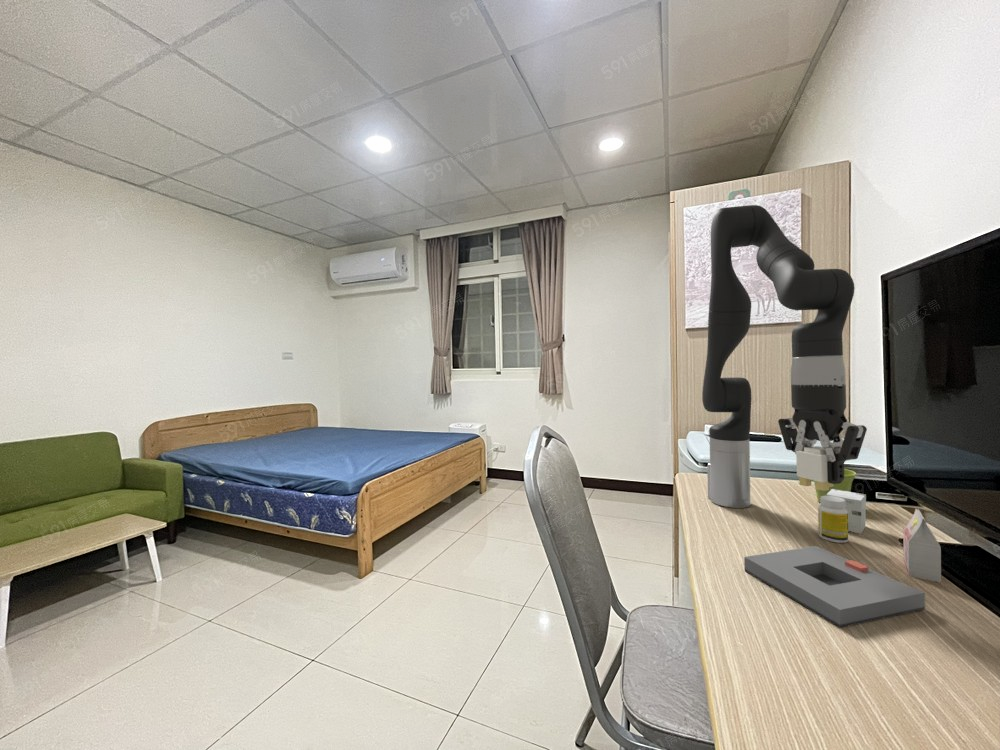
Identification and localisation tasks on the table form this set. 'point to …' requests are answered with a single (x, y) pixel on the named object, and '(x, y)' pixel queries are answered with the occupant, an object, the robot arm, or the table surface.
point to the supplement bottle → (833, 519)
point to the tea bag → (921, 549)
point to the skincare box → (853, 508)
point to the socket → (834, 585)
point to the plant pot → (843, 486)
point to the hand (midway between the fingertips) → (820, 479)
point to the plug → (813, 467)
